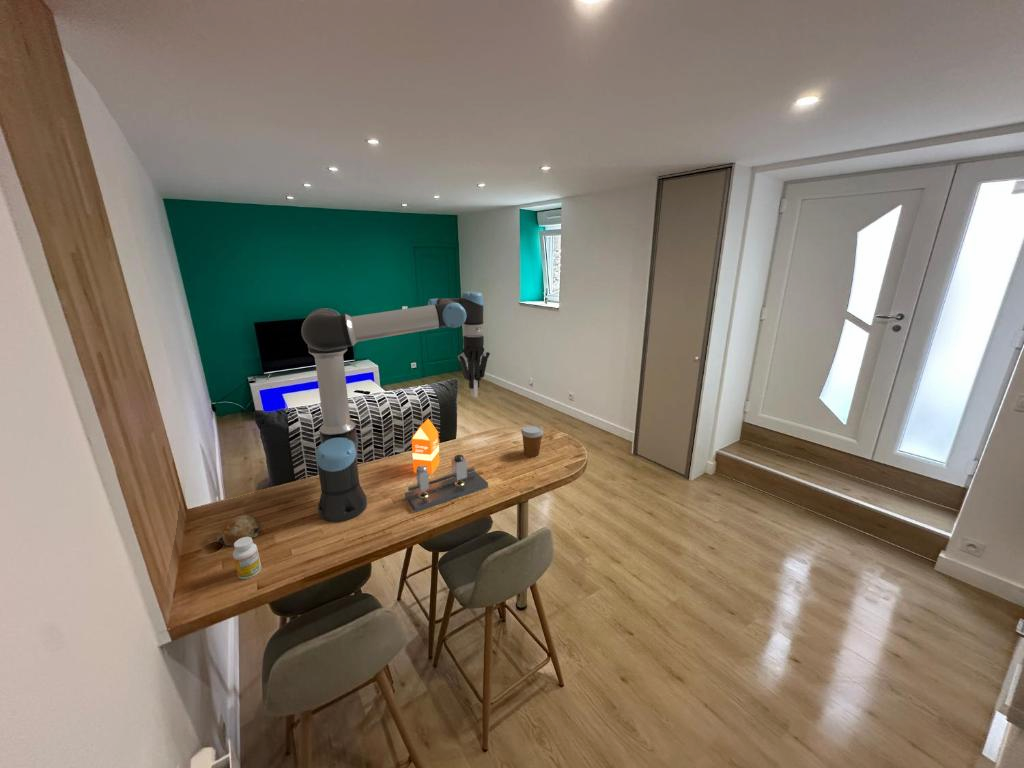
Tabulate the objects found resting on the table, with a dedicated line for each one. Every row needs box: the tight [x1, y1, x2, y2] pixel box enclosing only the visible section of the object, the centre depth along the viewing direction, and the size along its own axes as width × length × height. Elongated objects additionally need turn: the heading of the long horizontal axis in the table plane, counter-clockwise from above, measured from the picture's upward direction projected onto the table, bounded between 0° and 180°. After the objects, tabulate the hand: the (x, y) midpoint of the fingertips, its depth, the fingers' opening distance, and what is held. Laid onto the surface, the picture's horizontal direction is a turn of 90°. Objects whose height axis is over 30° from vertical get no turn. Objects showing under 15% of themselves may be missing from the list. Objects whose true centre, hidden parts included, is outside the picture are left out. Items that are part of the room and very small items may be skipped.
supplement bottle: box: [232, 537, 262, 580], centre depth 105 cm, size 5×5×10 cm
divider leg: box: [451, 454, 468, 482], centre depth 143 cm, size 4×4×10 cm
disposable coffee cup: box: [520, 424, 544, 458], centre depth 171 cm, size 10×10×12 cm
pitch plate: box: [404, 465, 489, 513], centre depth 141 cm, size 28×10×13 cm, turn 124°
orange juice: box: [411, 418, 440, 475], centre depth 157 cm, size 8×9×20 cm
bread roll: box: [216, 514, 260, 547], centre depth 119 cm, size 10×10×8 cm
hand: (474, 396), depth 152 cm, fingers closed
